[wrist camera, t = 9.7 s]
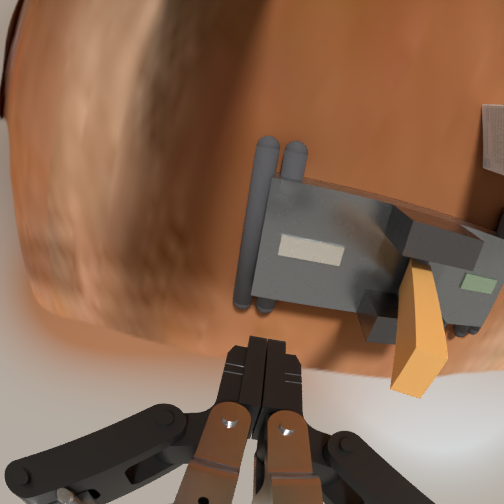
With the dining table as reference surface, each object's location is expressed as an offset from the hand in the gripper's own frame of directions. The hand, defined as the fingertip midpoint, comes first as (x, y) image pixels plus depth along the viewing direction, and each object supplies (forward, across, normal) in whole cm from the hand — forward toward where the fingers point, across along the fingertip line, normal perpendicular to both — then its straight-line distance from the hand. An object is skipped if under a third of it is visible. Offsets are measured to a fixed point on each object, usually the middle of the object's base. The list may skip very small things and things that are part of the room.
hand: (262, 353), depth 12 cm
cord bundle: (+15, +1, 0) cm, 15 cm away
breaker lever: (+11, -12, 0) cm, 16 cm away
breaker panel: (+15, -12, 0) cm, 19 cm away
